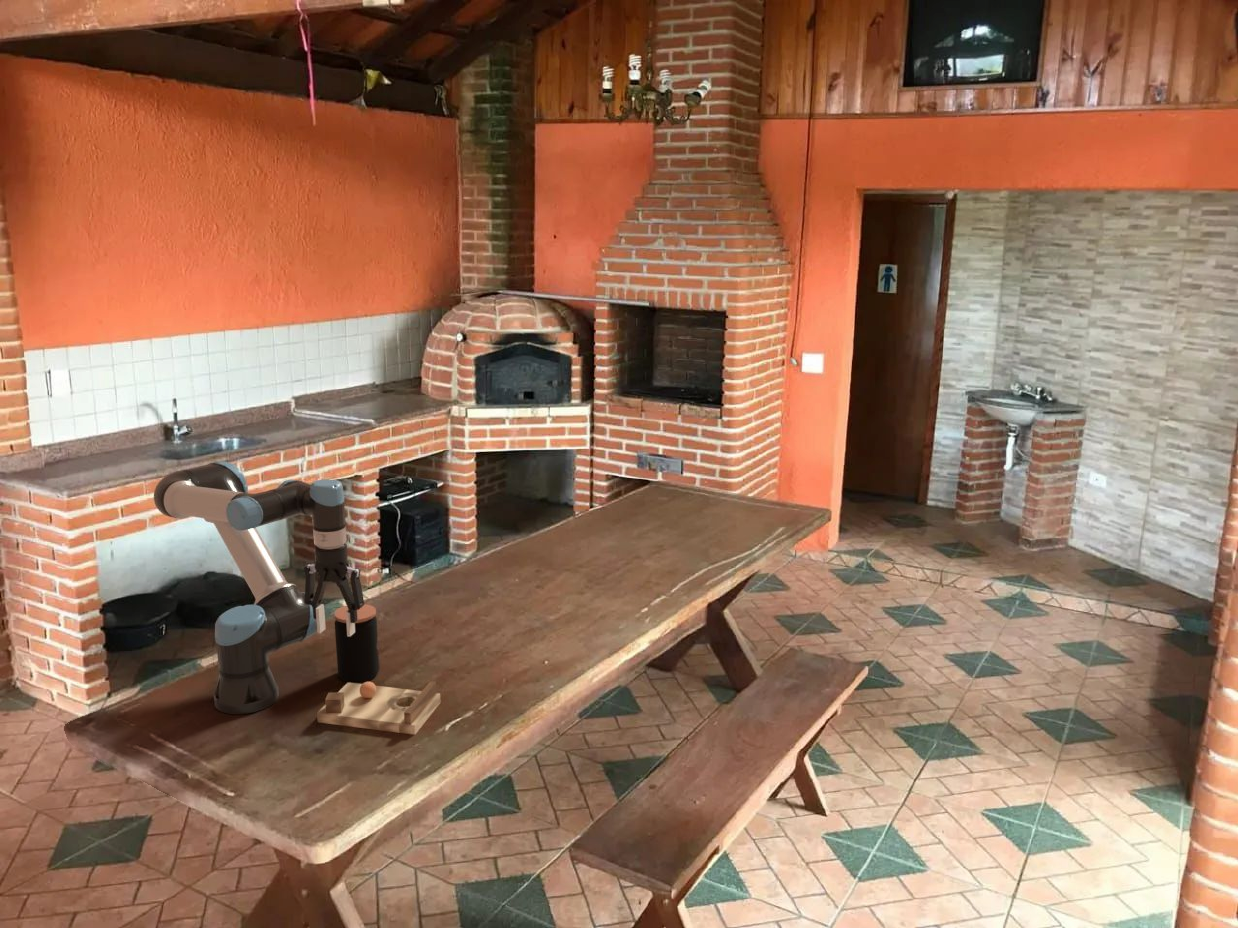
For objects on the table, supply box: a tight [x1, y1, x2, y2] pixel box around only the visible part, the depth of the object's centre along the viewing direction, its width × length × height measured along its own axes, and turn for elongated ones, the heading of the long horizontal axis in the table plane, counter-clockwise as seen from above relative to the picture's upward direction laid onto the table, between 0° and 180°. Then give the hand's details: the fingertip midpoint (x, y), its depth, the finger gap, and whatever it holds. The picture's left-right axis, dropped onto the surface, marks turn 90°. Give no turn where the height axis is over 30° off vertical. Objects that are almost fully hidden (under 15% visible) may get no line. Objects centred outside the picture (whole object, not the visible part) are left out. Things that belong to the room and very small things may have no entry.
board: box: [316, 680, 442, 736], centre depth 248 cm, size 25×16×6 cm, turn 78°
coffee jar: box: [333, 603, 380, 684], centre depth 265 cm, size 11×11×18 cm
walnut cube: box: [324, 691, 344, 713], centre depth 244 cm, size 4×4×4 cm
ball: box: [360, 681, 377, 698], centre depth 250 cm, size 4×4×4 cm
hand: (336, 632), depth 248 cm, fingers open, 7 cm apart
